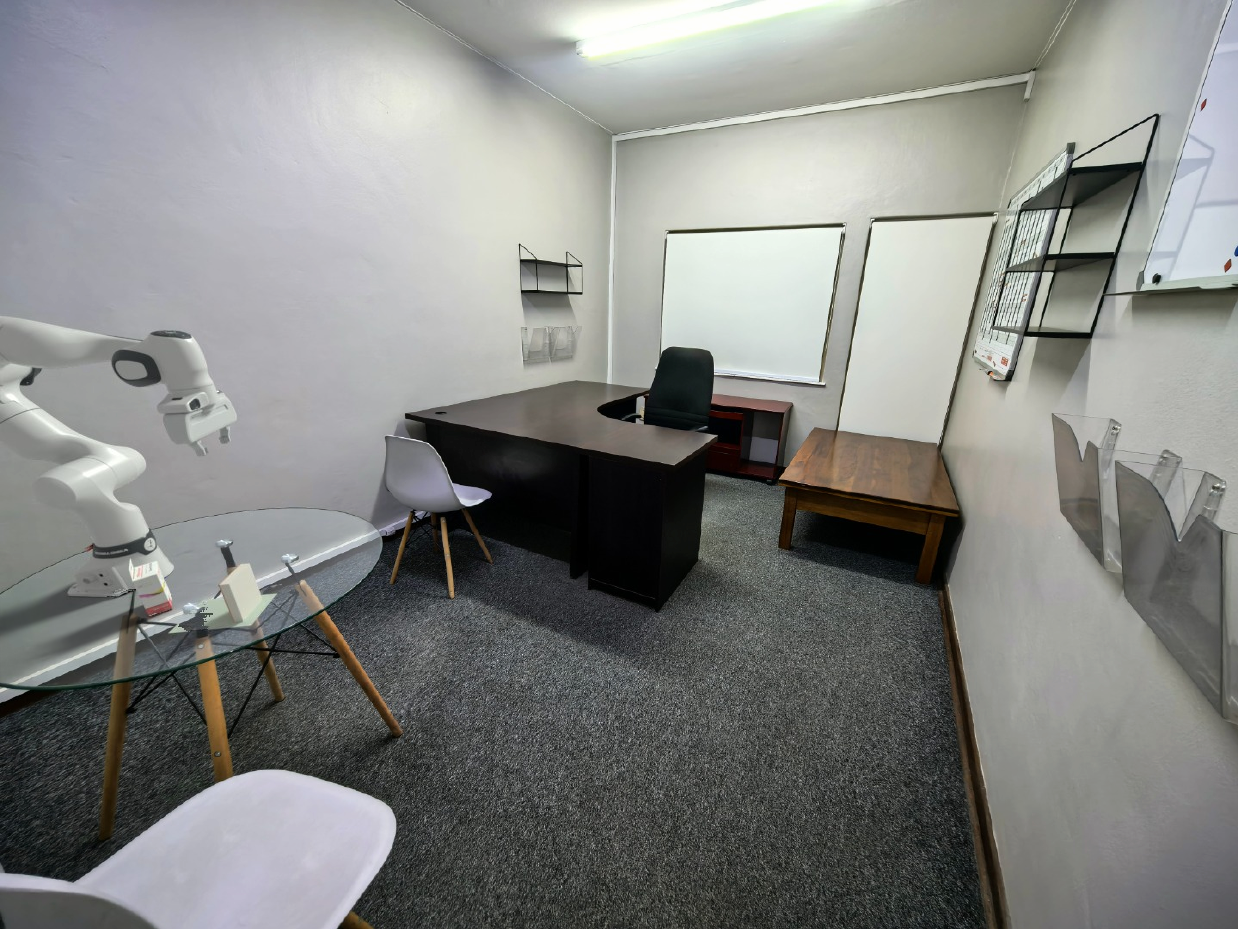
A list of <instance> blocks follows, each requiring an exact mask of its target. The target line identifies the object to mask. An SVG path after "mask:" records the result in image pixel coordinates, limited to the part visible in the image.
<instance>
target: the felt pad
mask: <svg viewBox="0 0 1238 929" xmlns="http://www.w3.org/2000/svg"><path fill="white" fill-rule="evenodd" d="M277 594H278V593H266V594H261V596H262V600H261V601H260V603H259V604H258V605H257V606H256V607H255V608H254V610H253V611H252V612H251V613H250V614H249V615H248V617H247V618H246V619H245V620H244V621H241V622H233V620H232V617H231V615H230V613H229V610H228V608H227V605H226V603H225V600H224V598H223V597H221V598H220V597H219V598H210V599H208V598H207V599H202V600H201V601H200V602H199V603H198V604H196V606H195V607H208V608H207V610H206V609H205V610H204V612H203V610H202V612H200V613H213V615H210V617H209V615H207V617H206V618H203V619H204V621H207V622H204V626H209V627H208V628H209V629H208V628H207V629H208V630H207V631H210V630H219V629H220V630H221V629H231V628H232V629H233V628H241V627H242V628H243V627H251V626H252V625H253V624H254V623H255V621H257V619H258V618H259V616H260V615H261V614H262V613H263V612H264V610H265V609H267V607H268V606H269V604H270V603H271V602H272V601H273V600H274V598H275V597H276V596H277ZM205 601H207V602H205ZM203 602H204V604H205V603H207V604H206V605H203ZM209 609H210V610H209ZM192 612H193V613H195V612H194V611H192V610H191V611H189V613H192ZM189 613H187V615H188V616H189ZM205 616H206V615H205ZM205 619H206V620H205ZM178 626H179V622H178V623H177V624H176V625H175V626H174V627H173V628H172V629H171V630H170V631H169V632H168V634H175V633H187V632H188V631H186V630H184V628H182V627H178ZM202 626H203V625H202ZM188 633H189V632H188Z"/></svg>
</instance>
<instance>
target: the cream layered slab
mask: <svg viewBox="0 0 1238 929" xmlns="http://www.w3.org/2000/svg"><path fill="white" fill-rule="evenodd" d="M218 587H219V590H220V592H221V595H222V598H224V600H225V603H226V605H227V608H228V610H229V613H230V615H231V617H232V620H233V622H241V621H244V620H245V619H246V618H247V617H248V615H249V614H250V613H251V612H252V611H253V610H254V608H255V607H256V606H257V605H258V604H259V603H260V601H261V600H262V596H261V595H262V592H261V591H260V589H259V585H258V582H257V580H256V578H255V575H254V571H253V569H252V566H251V563H240V564H238V565H237V566H236V567H235V568H234V569H233V570H232V571H231V572H229V574H228V575H227V576H226V577H225V578H224V579H223V580H222V581H221V582H220V583H219V584H218Z"/></svg>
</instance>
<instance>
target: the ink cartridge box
mask: <svg viewBox="0 0 1238 929" xmlns="http://www.w3.org/2000/svg"><path fill="white" fill-rule="evenodd" d="M129 574H130V577H131V580H132V583H133V585H134V587H135V589H136V590H135V591H136V593H137V595H138V597H139V599H140V601H141V603H142V606H143V607H144V609H145V611H146V613H147V615H148V616H149V615H152V614H154V613H160V612H163V613H165V611H166V612H168V611H167V610H169V611H171V610H170V609H172V610H173V598H172V597H171V595H172V594H171V592H170V588H169V586H168V584H167V582H166V580H165V578H164V577H163V575H162V573H161V570H160V568H159V566H158V563H157V561H155V562H151V563H148V564H144V565H141V566H138V567H134V568H133V564H132V561H131V559H130V561H129ZM160 614H161V613H160Z"/></svg>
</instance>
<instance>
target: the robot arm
mask: <svg viewBox="0 0 1238 929" xmlns="http://www.w3.org/2000/svg"><path fill="white" fill-rule="evenodd" d="M97 363H98V364H99V363H111V367H112V370H113V373H114V374H115V375H116V376H117V377H118V378H119V379H120V380H121V381H123V382H124V383H125V384H127V385H130V386H132V387H135V388H149V387H154V386H155V387H156V386H159V385H164V386H166V390H167V392H168V393H167V394H166V396H165V397H164V398H163V399H162V400H161V401H160V402H159V403H158V404H157V405H156V410H157V412H158V413H159V414H161V415H163V416H162V422H163V425H164V429H165V430H166V433H167V435H168V438H169V440H171V442H173V443H174V444H175V445H188V447H190V448H191V449H192V450H194V452H195V454H196V456H197V457H205V456H206V455H209V451H208V447H204V446H203V445H202V440H201V439H203V438H205V437H207V436H209V435H211V434H213V433H215V432H217V431H219V432H220V433H219V435H220V436H219V437H218V440H219V442H220V443H221V444H222V445H223V444H229V443H230V442H232V439H231V436H230V435H231V426H230V425H231V424H233V423H236V422H237V420H238V415H237V412H236V410H235V408H234V406H233V403H232V402H231V400H230V398H228V397H227V396H226V393H224V392H223V391H221V390H219V389H217V388H216V385H215V383H214V380H213V379H212V378H211V376H210V374H209V369H208V368H209V367H208V363H207V361H206V358H205V355H204V353H203V350H202V348H201V346H200V345H199V343H198V341H197V340H196V339H195V338H194V337H193V335H192V334H191V333H187V332H184V331H181V330H166V329H165V330H162V329H161V330H156V331H152V332H150V333H149V334H148V335H147V337H146V338H145V339H138V338H137V339H136V338H131V337H130V338H129V337H125V336H117V335H109V334H102V333H96V332H93V331H87V330H86V331H85V330H82V329H75V328H69V327H65V326H61V325H56V324H52V323H46V322H41V321H37V320H32V319H27V318H20V317H14V316H5V315H0V444H1V445H3V446H4V447H5V448H7V449H9V451H11V452H12V453H14V454H16V455H18V456H19V457H20V458H24V459H27V460H30V461H31V460H32V461H45V462H46V461H47V462H49V463H50V462H51V463H55V464H58V466H55V467H53V468H51V469H48V470H47V471H46V472H44V473H43V474H41V475H39V476H38V477H37V478H36V479H35V478H34V480H33V481H32V482H31V484H30V492H31V495H32V498H34V499H35V501H36V502H37V503H39V504H40V505H42V506H44V507H46V508H49V509H52V510H56V511H64V512H67V513H69V514H71V515H72V516H74V517H75V518H77V519H78V520H79V521H80V523H82V525H83V526H84V527H85V530H86V531H87V533H88V535H89V536H90V538H91V540H92V543H91V544H90V545H88V546H87V547H85V548H84V550H86V551H85V552H86V553H88V552H89V551H92V554H91V556H89V557H88V558H87V560H85V561H84V562H83V563H82V564H81V565H80V566H79V567H78V568H76V570H75V572H74V578H75V582H76V583H74V584H73V585H71V587H70V588H69V589H68V590H67V596H68V597H93V598H108V597H107V596H112V595H117V594H120V593H121V592H123V589H124V591H126V590H128V589H135V587H134V585H133V583H132V580H131V577H130V574H129V561H130V559H131V561H132V564H133V568H134V567H138V566H141V565H144V564H148V563H151V562H155V561H157V563H158V566H159V568H160V570H161V573H162V575H163V577H164V579H165V578H166V577H168V576H169V575H170V574H171V573H172V572H173V571H174V569H175V565H174V564H173V563H172V562H171V561H170V560H169V558H168V557H167V556H166V555H165V554H164V552H163V551H162V549H161V547H159V545H158V544H157V540H156V539H157V538H156V537H155V534H154V532H153V530H152V529H151V528H150V527H149V526H148V524H147V522H146V520H145V518H144V515H143V512H142V511H141V509H140V507H139V506H137V505H136V504H133V503H129V502H120V501H119V500H118V499H117V497H115V495H114V491H115V490H117V489H120V488H122V487H124V486H126V485H128V484H131V483H132V482H133V481H134V480H136V479H137V478H138V477H140V476H141V475H142V474H144V472H145V471H146V469H147V462H146V459H145V458H144V456H143V455H142V453H140V452H139V451H138V450H136V449H134V448H132V447H129V446H123V445H113V444H108V443H105V442H102V441H100V440H96V439H94V438H91V437H88V436H86V435H84V434H81V433H79V432H77V431H76V430H73V429H72V428H70V427H69V426H68V425H66V424H65V423H63V422H61V421H60V420H58V419H57V418H55V417H54V416H52V415H51V414H50V413H48V412H47V411H46V410H44V409H43V408H41V407H40V406H38V405H37V404H35V403H34V402H33V401H31V400H30V399H29V398H27V397H26V396H25V395H24V394H23V393H22V391H21V388H20V386H21V387H28V386H32V385H33V384H34V382H35V378H36V377H37V376H38V375H39V374H41V372H42V370H43V369H50V370H52V369H58V370H59V369H65V368H66V369H67V368H75V367H79V366H85V365H90V364H97ZM119 589H121V590H119ZM115 590H118V591H116V592H115ZM114 592H115V593H114Z"/></svg>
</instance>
